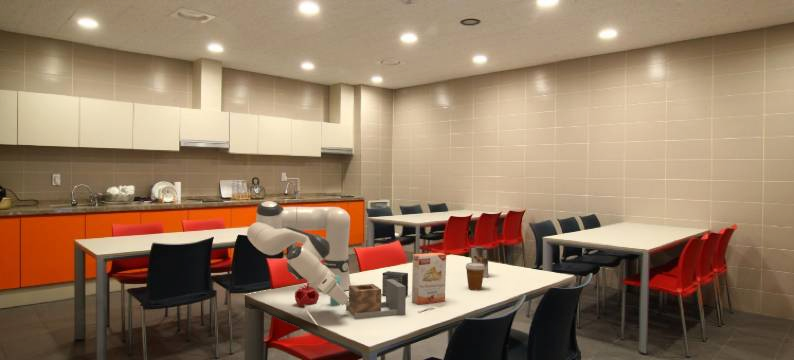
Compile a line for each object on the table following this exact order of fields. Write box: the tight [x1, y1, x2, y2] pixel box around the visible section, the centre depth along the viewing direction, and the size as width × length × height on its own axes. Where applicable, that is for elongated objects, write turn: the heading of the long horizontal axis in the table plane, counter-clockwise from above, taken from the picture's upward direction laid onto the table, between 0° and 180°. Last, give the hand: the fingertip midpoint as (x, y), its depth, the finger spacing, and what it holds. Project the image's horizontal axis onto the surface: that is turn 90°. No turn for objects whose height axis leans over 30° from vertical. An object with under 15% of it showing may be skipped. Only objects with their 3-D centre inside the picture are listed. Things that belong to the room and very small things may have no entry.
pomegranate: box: [294, 282, 320, 307], centre depth 205 cm, size 10×10×9 cm
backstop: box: [345, 279, 407, 320], centre depth 190 cm, size 25×14×12 cm, turn 111°
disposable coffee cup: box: [465, 262, 485, 291], centre depth 237 cm, size 10×10×12 cm
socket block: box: [348, 283, 382, 318], centre depth 189 cm, size 10×10×10 cm
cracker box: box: [411, 252, 447, 305], centre depth 212 cm, size 14×6×21 cm, turn 117°
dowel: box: [329, 275, 341, 307], centre depth 202 cm, size 4×4×13 cm
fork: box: [417, 301, 447, 314], centre depth 198 cm, size 3×24×2 cm, turn 136°
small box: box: [381, 270, 409, 297], centre depth 222 cm, size 11×6×10 cm, turn 65°
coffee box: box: [470, 245, 489, 279], centre depth 267 cm, size 9×6×16 cm
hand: (348, 303), depth 187 cm, fingers closed
